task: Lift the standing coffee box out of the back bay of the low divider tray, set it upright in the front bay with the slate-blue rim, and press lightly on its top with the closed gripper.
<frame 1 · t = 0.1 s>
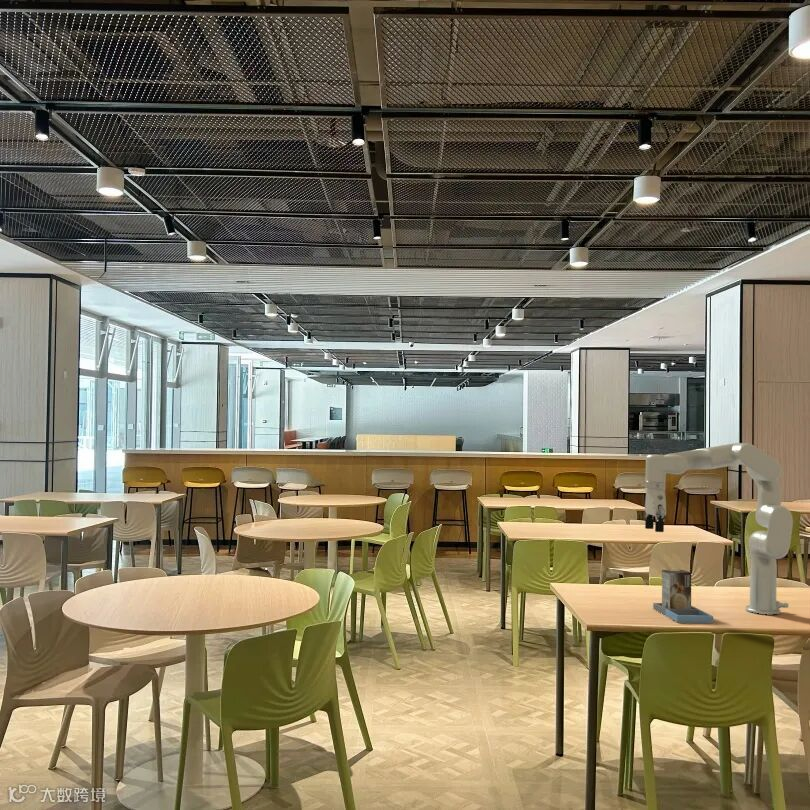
hand: (654, 530, 309), 31 cm above the table, tool pointing down, fingers open, 9 cm apart
bay tray: (682, 615, 300), on the table
coffee box: (676, 613, 305), resting in bay tray
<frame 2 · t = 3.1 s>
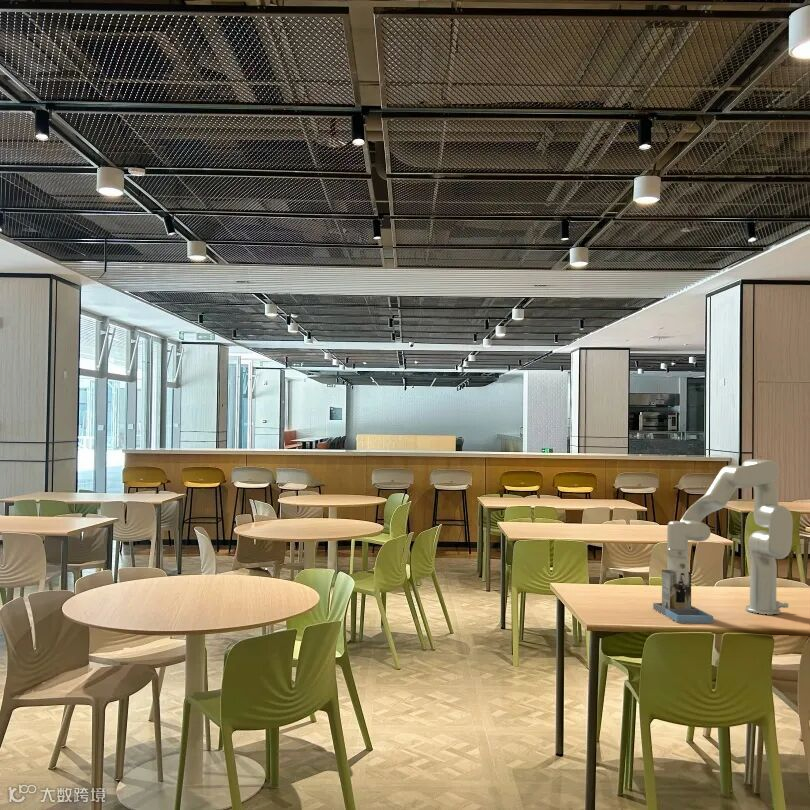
hand: (676, 599, 305), 5 cm above the table, tool pointing down, fingers closed on coffee box, 6 cm apart
coffee box: (676, 613, 305), resting in bay tray, touching gripper
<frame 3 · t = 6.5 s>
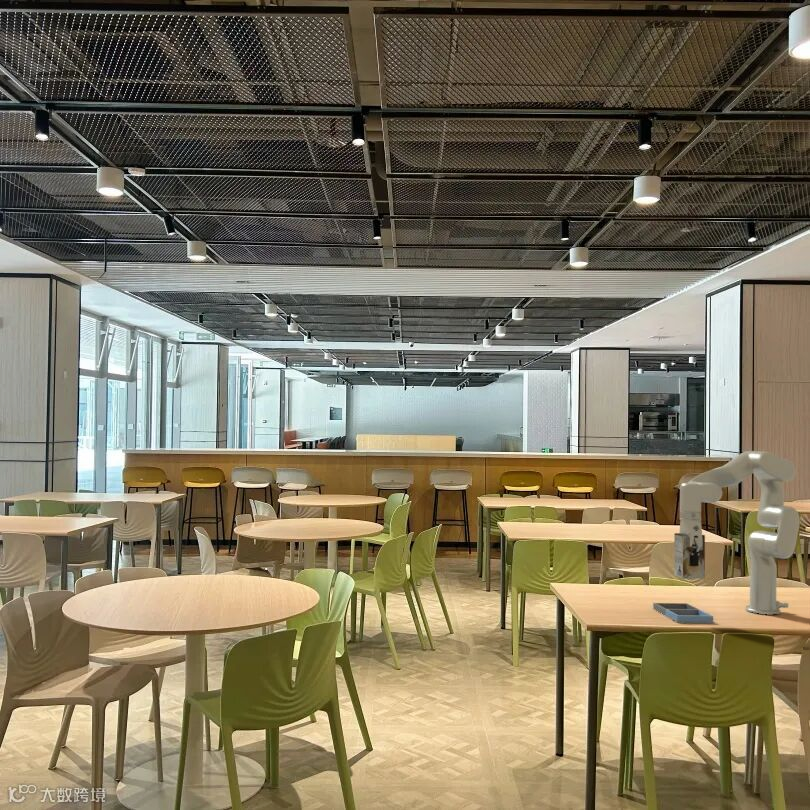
hand: (689, 563, 296), 20 cm above the table, tool pointing down, fingers closed on coffee box, 6 cm apart
coffee box: (689, 577, 295), point 15 cm above the table, touching gripper
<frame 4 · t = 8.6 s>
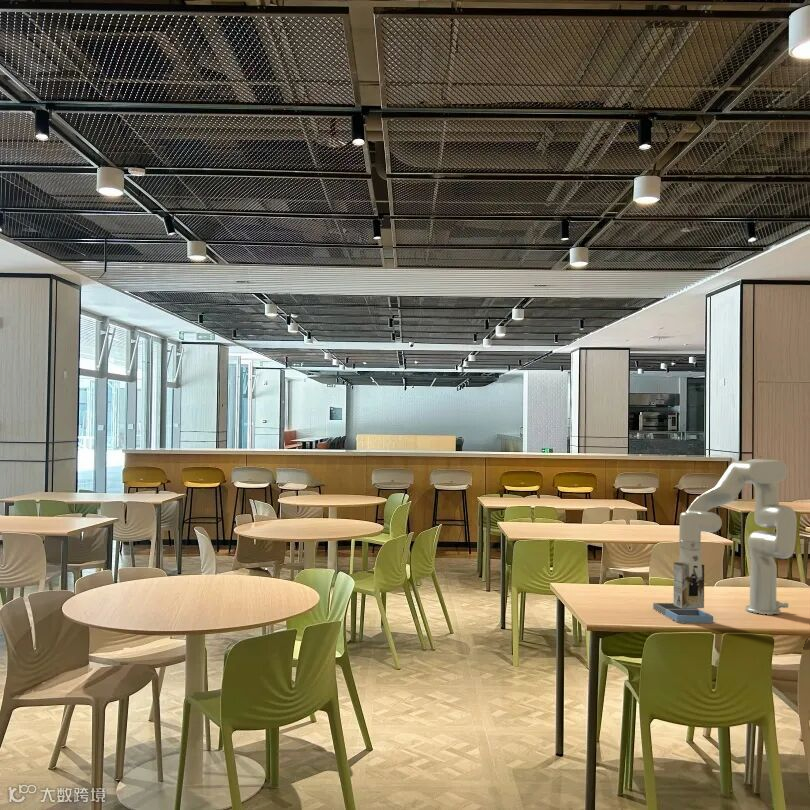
hand: (688, 593, 295), 10 cm above the table, tool pointing down, fingers closed on coffee box, 6 cm apart
coffee box: (688, 607, 295), point 4 cm above the table, touching gripper
when the fingers open (6 cm above the table, at t = 10.1 s): coffee box drops 1 cm, resting on bay tray.
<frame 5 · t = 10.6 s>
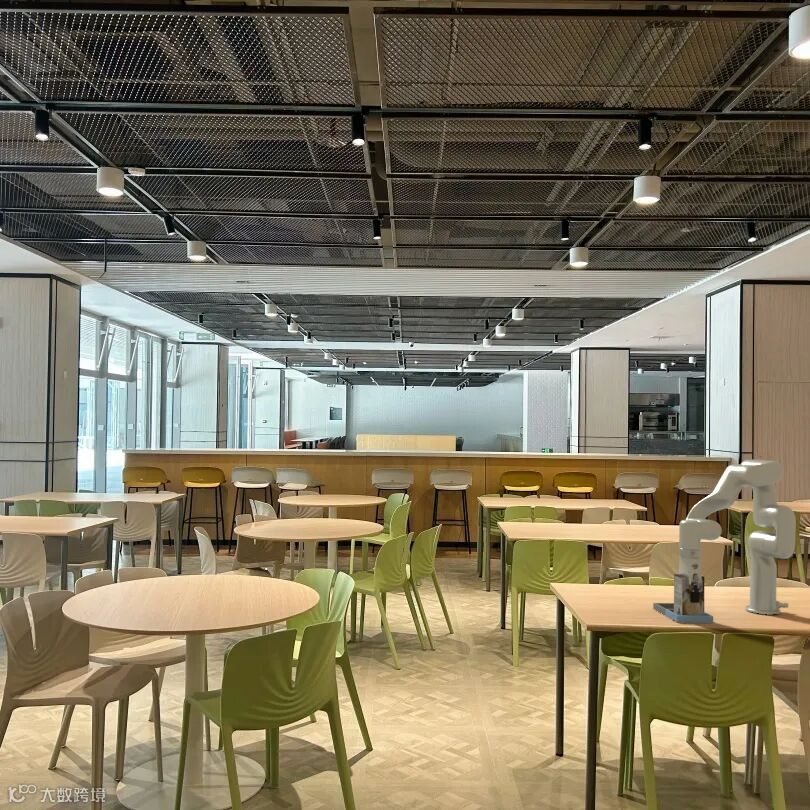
hand: (688, 599, 295), 7 cm above the table, tool pointing down, fingers open, 9 cm apart
coffee box: (688, 619, 295), resting on bay tray
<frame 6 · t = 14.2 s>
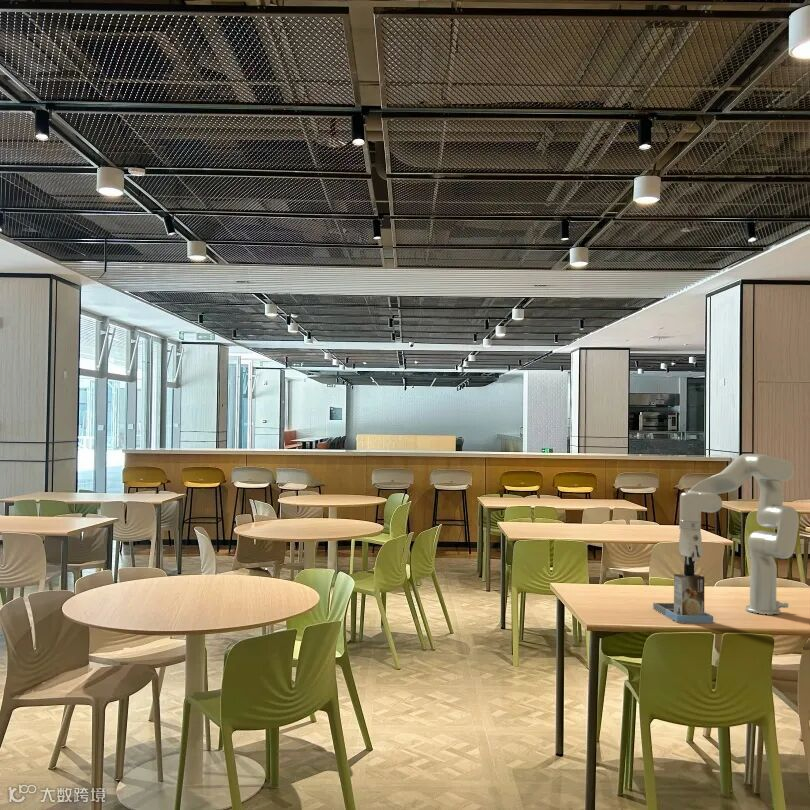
hand: (689, 575, 295), 16 cm above the table, tool pointing down, fingers closed
coffee box: (688, 619, 295), resting on bay tray, touching gripper
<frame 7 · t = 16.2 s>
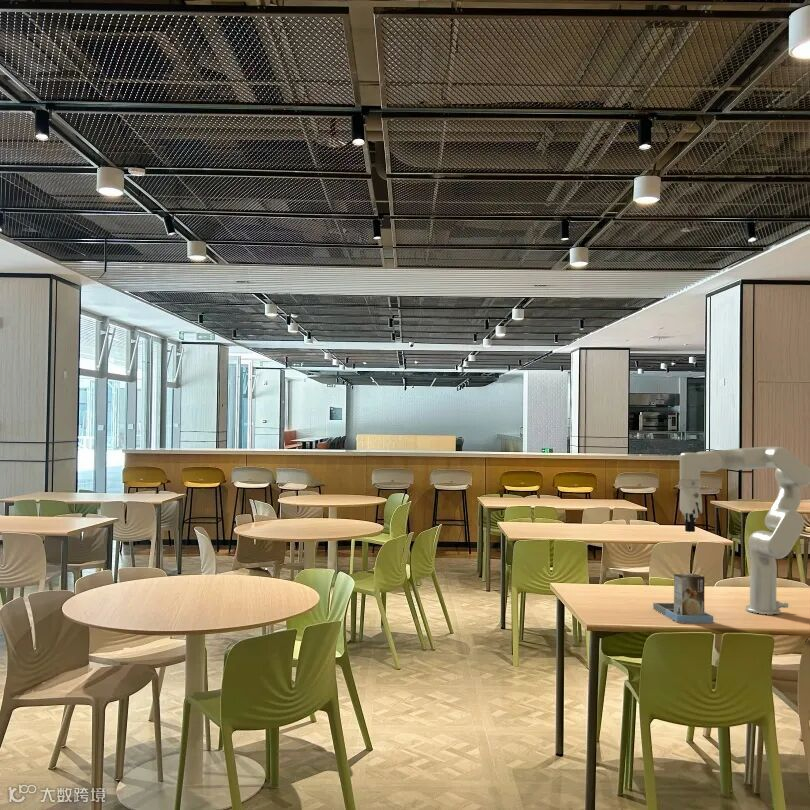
hand: (690, 531, 309), 31 cm above the table, tool pointing down, fingers closed
coffee box: (688, 619, 295), resting on bay tray
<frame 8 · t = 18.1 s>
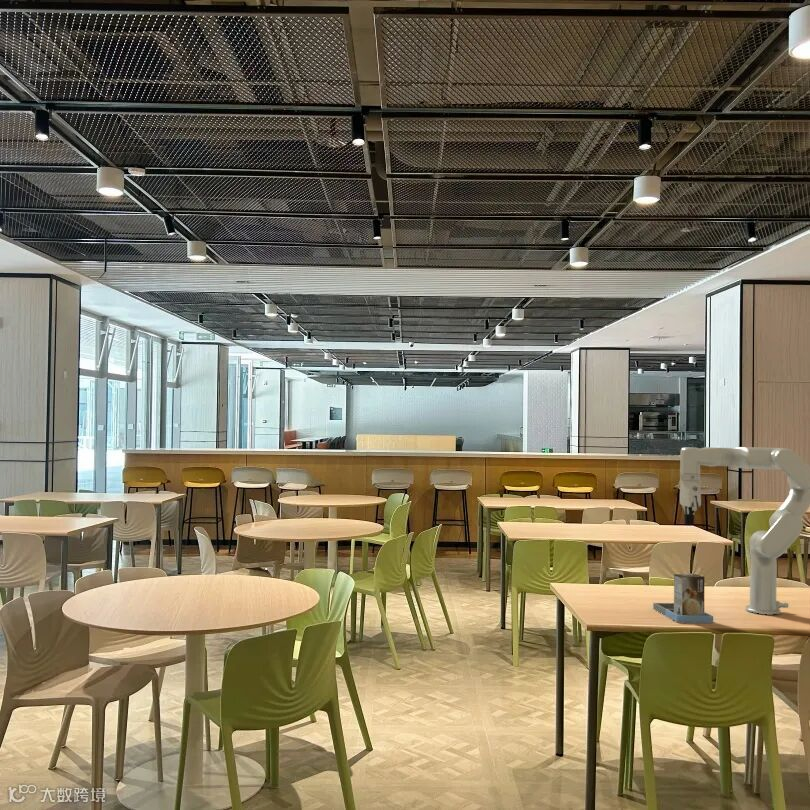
hand: (689, 524, 317), 33 cm above the table, tool pointing down, fingers closed
nothing on the table moved.
at the end: coffee box 0.2 cm from the target spot on the bay tray, point 0.0 cm above the bay tray's base; coffee box tilted 0°; the gripper is holding nothing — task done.
